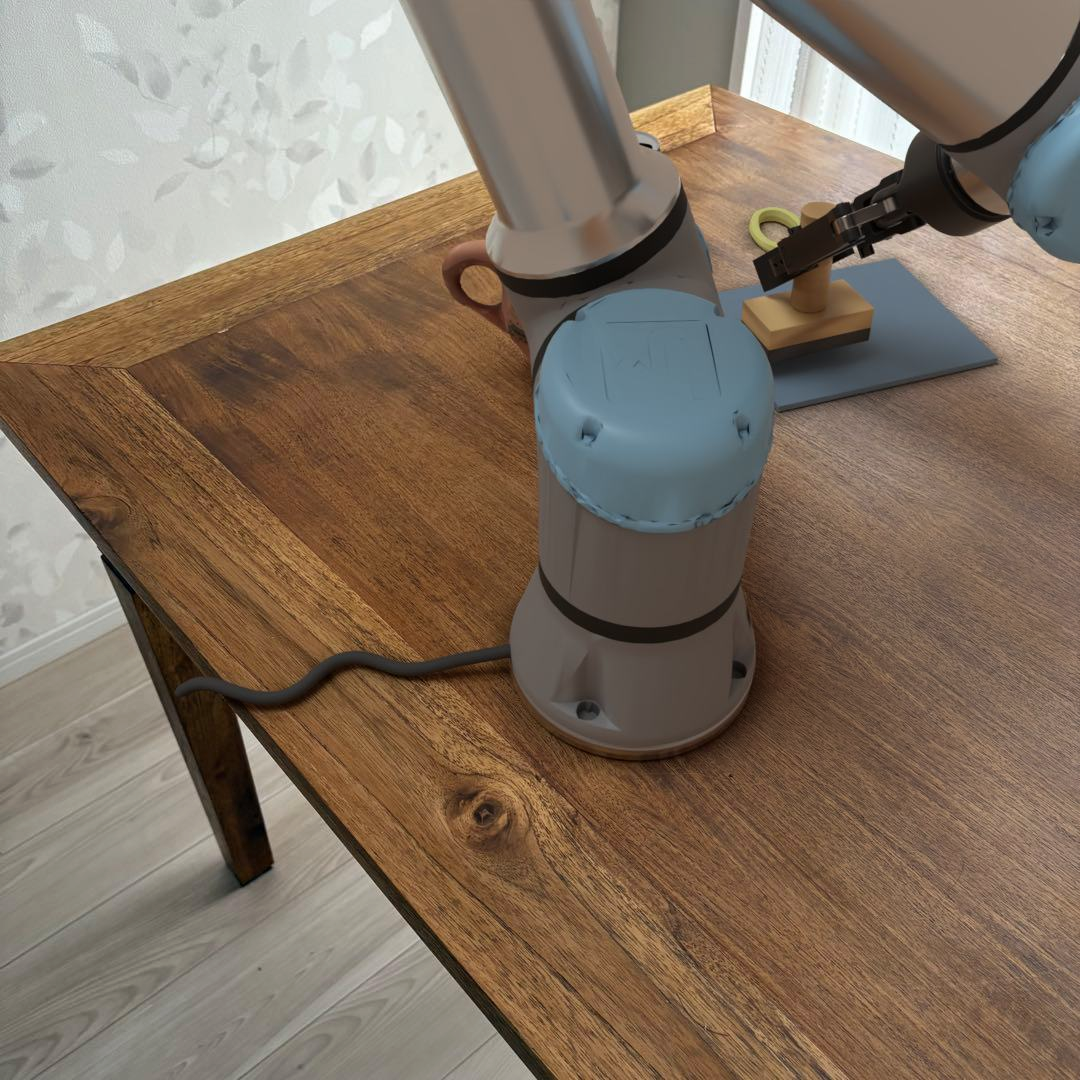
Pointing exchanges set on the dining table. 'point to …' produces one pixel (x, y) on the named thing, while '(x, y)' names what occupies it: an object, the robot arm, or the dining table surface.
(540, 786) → the dining table surface
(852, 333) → the scrub brush
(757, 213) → the key
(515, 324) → the decorative planter
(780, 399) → the scrub mat
